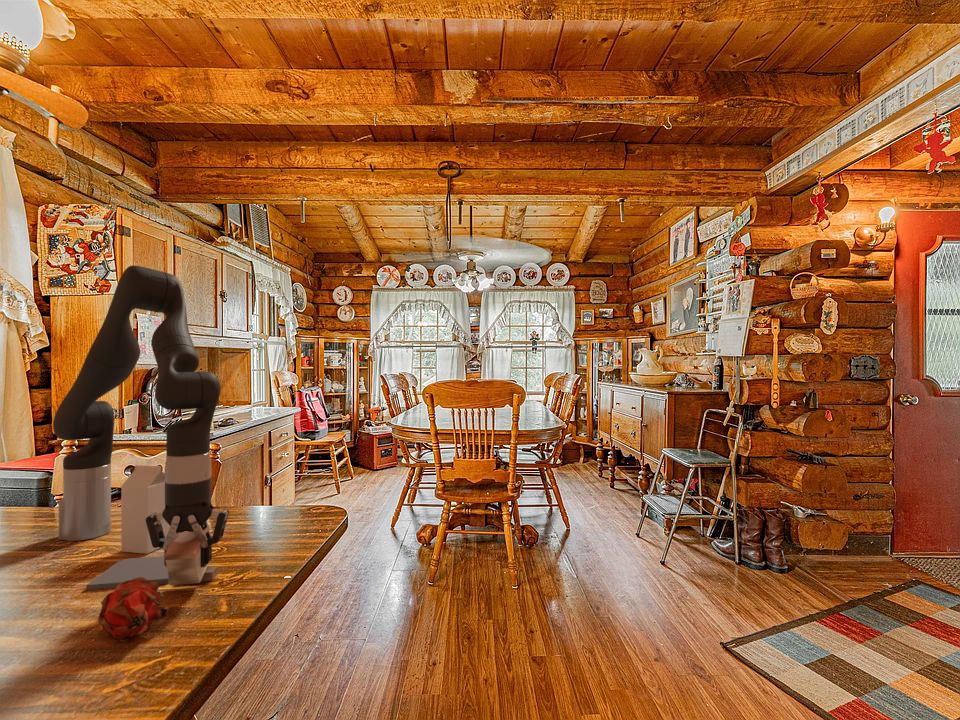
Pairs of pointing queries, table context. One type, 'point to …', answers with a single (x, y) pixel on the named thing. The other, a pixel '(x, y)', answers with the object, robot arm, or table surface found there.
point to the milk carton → (141, 507)
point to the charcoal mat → (131, 572)
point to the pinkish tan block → (184, 560)
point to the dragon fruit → (131, 608)
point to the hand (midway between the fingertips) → (188, 566)
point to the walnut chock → (210, 573)
